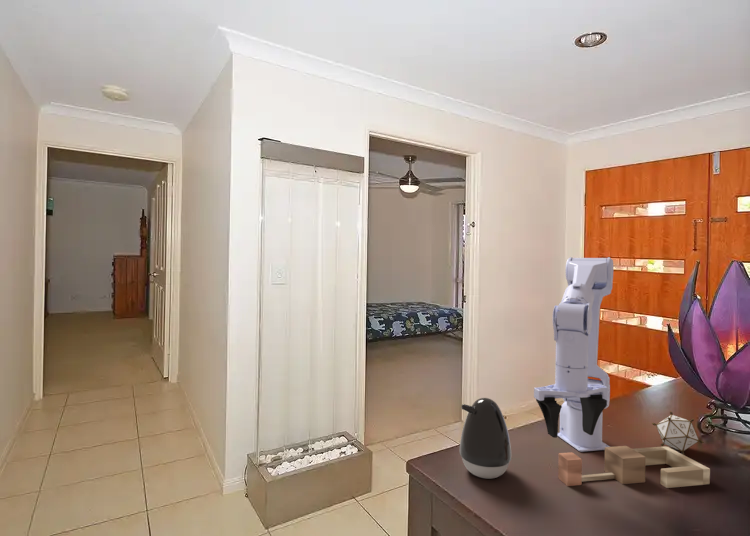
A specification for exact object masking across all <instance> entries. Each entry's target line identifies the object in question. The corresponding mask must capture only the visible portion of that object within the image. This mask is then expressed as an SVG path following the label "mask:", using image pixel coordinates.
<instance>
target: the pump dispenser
mask: <svg viewBox="0 0 750 536" xmlns="http://www.w3.org/2000/svg"><path fill="white" fill-rule="evenodd" d="M460 408H461V410H463V411H465V412H467V413H466V414H467V415H466V416H465V417H466V418H465V420H464V422H463V423H464V424H463V427H462V430H461V435H460V441H459V455H460V457H461V461H462V463H463V465H464V467H465V468H466V470H467V471H468V472H469V473H471V475H473V476H475V477H478V478H481V479H489V480H490V479H491V480H492V479H495V478H496V479H497V478H498V477H499V478H500V477H501V476H502V475H503V474H504V473H506V471H507V469H508V468H509V465H510V462H511V461H512V448H511V440H510V433H509V430H508V426H507V423H506V420H505V418H504V415H503V413H502V410H501V408H500V407H499V405H498V404H497V402H496V401H495V400H494V399H491V398H488V397H481V398H478V399H476V400H475V401H474V402H473V403H472V405H468V404H464V403H463V404H461V407H460Z"/></svg>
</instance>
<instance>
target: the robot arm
mask: <svg viewBox="0 0 750 536" xmlns="http://www.w3.org/2000/svg"><path fill="white" fill-rule="evenodd" d="M565 279H566V282H567V286H566V288H565V289H564V293H563V295H562V298H561V301H560V302H559V304H558V305H556V304H555V305H554V307H553V310H552V319H551V320H552V327H553V339H554V341H555V368H554V369H555V371H554V372H555V376H554V377H555V379H554V382H555V383H552V384H550V385H545V386H539V387H538V386H537V387H533V398H534V399H535V400H536V402H537V404H538V406H539V409H540V411H541V413H542V416H543V418H544V419H543V420H544V422H545V427H546V431H547V435H549V436H551V437H552V438H558V437H559V438H560V439H562V441H564V442H565V443H567V444H569V445H570V446H572V447H573V448H574V449H575V450H577V451H579V452H581V453H583V452H593V451H605V447H611V446H610V445H608V444H607V443H605V442H603V411H604V410H606V409H607V408H608V407H609V406H610V397H611V383H610V380H611V379H610V378H611V377H610V376H609V374H608V373H607V372H606V371H605V370H604V369H602V368H601V367H600V366H599V365H598V355H599V354H598V353H599V352H598V351H599V334H600V331H599V330H600V315H601V314H600V311H601V304H602V302H603V299H604V297H606V296H609V295H611V294H612V290H613V281H614V260H613V258H611V257H609V256H608V257H571V256H570V257H568V258H567V260H566V263H565ZM594 378H596V379H594ZM556 399H563V400H562V401H563V403H562V404H560V403H558V402H557V400H556Z"/></svg>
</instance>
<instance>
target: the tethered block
mask: <svg viewBox="0 0 750 536" xmlns="http://www.w3.org/2000/svg"><path fill="white" fill-rule="evenodd" d="M633 449H634V448H631V447H630V446H627V445H618V446H610V447H605V450H604V465H603V466H604V467H603V469H604V470H603V471H604V472H603V473H593V474H592V473H591V474H582V473H583V458H581V457H579V455H577V454H575V453H574V452H558V458H557V459H558V460H557V461H558V467H557V468H558V473H557V476H558V477H557V479H558V480H559V481H561V482H562V483H563V484H564V485H565V486H566V487H574V486H582V482H583V483H584V482H590V481H602V480H603V481H604V480H613V479H614V480H616V482H618V483H620V484H622V485H628V484H629V485H630V484H638V483H639V484H640V483H646V465H645V460H646V457H645V456H643V455H642V454H640V453H638V452H636V451H635V450H633Z"/></svg>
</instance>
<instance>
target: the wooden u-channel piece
mask: <svg viewBox="0 0 750 536" xmlns="http://www.w3.org/2000/svg"><path fill="white" fill-rule="evenodd" d="M632 449H633V450H635V451H636V452H638V453H640V454H642V455H643V456H645V457H646V460H645V466H655V465H665V464H666V465H668V466H670V467H666V468H660V478H659V479H660V482H659V484H660V485H662V486H663V487H665V489H669V488H670V489H671V488H680V487H681V488H682V487H683V488H684V487H692V486H693V487H694V486H703V485H710V479H711V468H709V467H707V466H706V465H703V464H702V463H700V462H698V461H696V460H694V459H692V458H690V457H688V456H686V455H685V454H684V455H683V454H682V452H681V453H680V451H678V450H676V449H674V448H672V447H670V446H667V445H663V446H653V447H651V446H650V447H638V448H632Z"/></svg>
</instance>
